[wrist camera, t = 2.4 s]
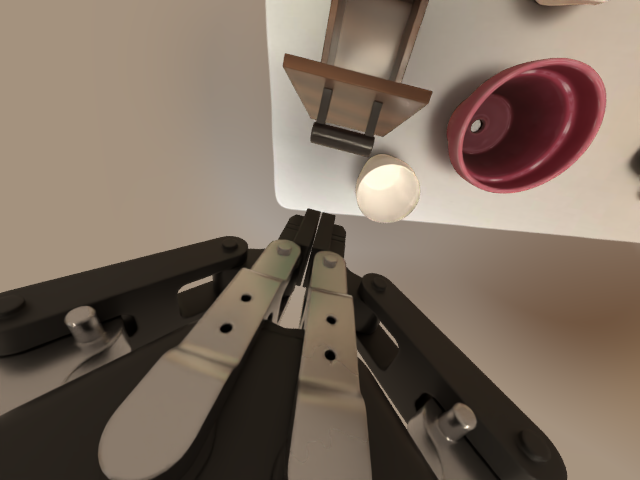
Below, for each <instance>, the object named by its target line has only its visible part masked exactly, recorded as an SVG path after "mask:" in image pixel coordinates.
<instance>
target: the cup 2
mask: <svg viewBox="0 0 640 480" xmlns="http://www.w3.org/2000/svg"><path fill="white" fill-rule="evenodd" d="M536 1H537V2H538V3H539V4H540V5H547V6H557V5H580V4H590V5H597V4H600V3H603V2H606V1H609V0H536Z"/></svg>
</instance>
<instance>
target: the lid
mask: <svg viewBox="0 0 640 480" xmlns="http://www.w3.org/2000/svg"><path fill="white" fill-rule="evenodd" d="M283 68H284V69H285V71H286V73H287V75H288V77H289V79H290V81H291V82H292V84H293V86H294V88H295V90H296V92H297V94H298V95H299V97H300V99H301V101H302V103H303V105H304V107H305V109H306V110H307V112H308V114H309V116H310V118H312V119H316V120H317V121H316V122H314V124H313V127H312V132H311V138H310V141H311V143H315V144H319V145H322V146H326V147H330V148H334V149H338V150H342V151H346V152H349V153H353V154H357V155H361V156H365V157H369V156H370V154H371V151H372V148H373V144H374V140H375V137H373V136H374V135H378V136H381V137H384V136H385V135H387V134H388V133H389V132H391V131H392V130H393V129H395V128H396V127H397V126H399V125H400V124H402V123H403V122H404V121H406V120H407V119H408V118H410V117H411V116H412V115H414V114H415V113H416V112H418V111H419V110H421V109H422V108H423V107H425V106H426V105H427V104H428V103H429V100H430V97H431V95H432V91H429V90H425V89H421V88H418V87H414V86H410V85H406V84H402V83H398V82H394V81H391V80H387V79H383V78H379V77H375V76H371V75H367V74H363V73H360V72H356V71H352V70H348V69H344V68H340V67H336V66H333V65H329V64H325V63H321V62H317V61H313V60H309V59H306V58H302V57H298V56H294V55H290V54H286V53H285V56H284V62H283ZM326 122H327V123H331V124H335V125H339V126H343V127H347V128H351V129H354V130H358V131H362V132H365V134H361V133H357V132H353V131H349V130H346V129H342V128H338V127H334V126H330V125H326Z"/></svg>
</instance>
